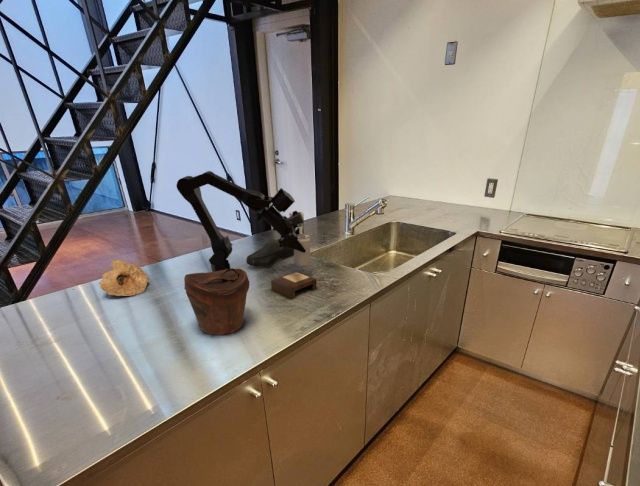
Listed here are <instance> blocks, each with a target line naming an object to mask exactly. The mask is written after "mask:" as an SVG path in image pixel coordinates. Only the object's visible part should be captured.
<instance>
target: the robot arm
mask: <svg viewBox="0 0 640 486" xmlns="http://www.w3.org/2000/svg"><path fill="white" fill-rule="evenodd" d="M206 185H208V186H211V187H213V188H216V189H218V190H219V191H222V192H223V193H226V194H228V195H229V196H232V197H234V198H236V199H238V200H239V201H241V203H242V204H243V205H245V206H246V207H248V208H249V209H251V210H252V211H254V212H256V216H257V219H256V220H257V221H260V220H261V219H263V220H264V221H266V223H268V224H269V225H270V226H271V227H272V230H273V232H277V234H278V235H280V238H282V239H281V245H282V246H283V247H284V248H286V247H289V248H292V249H295V250H298V251H301V252H303V253H305V252H306V250H305V249H304V247H303V246H302V244H301V243H300V242H299V241H298V234H300V233H299V229H300V228H298V229H296V227H299V224H301V223H303V222H304V223H305V218H304V219H303V217H302V214H301V212H302V211H300V212H298V210H293V211H292V212H293V213H292V216H291V217H289V216H288V217H287V216H286V215H282V214H281V213H285V212H286V211H287V210H288V209H289V208H290V207H291V206H292V205H293V204H294V203H295V202H296V200H295V199H294V197H293V196H292V195H291V194H290V193H289V192H288V191H286V190H285V189H283V188H282V187H281V188H279V190H278V191H277V192H276V193H275V195H274V196H270V195H264V194H263V193H262V192H260V191H256V190H253V189H249V188H244V187H242V186H240V185H238V184H236V183H234V182H232V181H230V180H228V179H226V178H224V177H222V176H220V175H218V174H216V173H214V172H213V171H211V170H207V171H205V172H203V173H200V174H198V175H195V176H192V175H185V176H183V177H181V178H179V179H178V180H177V182H176V189H177V191H178V192H179V194H180V195H181V196H182V198H183V199H184V200H185V201H187V202H188V204H190V206H191V207H192V209H193V211H194V213H195V214H196V216H197V218H198V220H199V222H200V224H201V226H202V227H203V229H204V231H205V233H206V234H207V236H208V238H209V241H210V247H211V250H212V253H213V254H212V255H211V256H210V258H209V259H208V262H209V264H210V269H211V272H215V271H220V270H228V269H231V263H230V262H229V260H228V258H229V257H230V255H231V254H232V252H233V243H232V242H231V240H230V238H229V236H228V235H226V236H224V235H222V233H221V231H220V230H219V228H218V226H217V224H216V222H215V220H214V219H213V217H212V215H211V213H210V211H209V210H208V207H207V206H206V204H205V202H204V199H203V197H202V190H201V187H204V186H206Z"/></svg>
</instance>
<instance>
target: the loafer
mask: <svg viewBox="0 0 640 486" xmlns="http://www.w3.org/2000/svg"><path fill="white" fill-rule="evenodd" d="M281 239H282V238H281V237H279V238H278V239H275V238H274V237H270V238H269V239H268V240H267V242H266V243H265V244H264V245H263V246H262V247H261V248H259V249H258V250H256V251H254V252H253V253H250V254H249V255H247V257H246V264H247V265H248V266H250V267H251V266H252V267H261V268H262V267H268V266H272V265H274V263H276V262H277V261H278V260H279V259H280V260H281V259H288V258H290V257H294V249H292V248H289V247H286V248H284V247H283V246H282V245H281Z"/></svg>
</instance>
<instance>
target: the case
mask: <svg viewBox="0 0 640 486" xmlns="http://www.w3.org/2000/svg"><path fill="white" fill-rule="evenodd" d="M183 278H184V280H183V281H184V290H185V294H186V296H187V298H188V301H189V303H190V306H191V308H192V311H193V313H194V316H195V318H196V320H197V323H198V326H199V328H200V330H201V331H202V332H204V333H205V334H209V335H216V336H217V335H218V336H219V335H220V336H221V335H227V334H232V333H235V332H236V331H238V330H239V329H241V327H242V326H243V324H244V317H245V310H246V302H247V296H248V295H247V294H248V293H249V289H250V280H249V277H248V273H247V272H246V270H244V269H242V268H230V269H228V270H220V271H215V272H212V271H208V272H193V273H186V274H185V275H184V277H183Z"/></svg>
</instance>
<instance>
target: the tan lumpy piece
mask: <svg viewBox="0 0 640 486" xmlns="http://www.w3.org/2000/svg"><path fill="white" fill-rule="evenodd" d="M110 266H111V268H112V270H109V271H106V272H105V273H103V274H102V276H101V277H102V279H101V280H100V281H99V283H98V284H99V287H100V289H101V290H102V291H104V292H106V293H107V295H109V297H111V296H117V297H121V296H123V297H124V296H125V297H126V296H127V297H129V296H136V295H140V294H141V293H144V291H145V290H146V288H147V286H148V282H149V280H150V279H149V277H148V275H147V273H145V271H144V270H143V268H142V267H140V266H138V265H137V264H133V263H131V262H127V261H124V260H120V259H116V258H115V259H114V260H113V261H112V262H111V263H110Z"/></svg>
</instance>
